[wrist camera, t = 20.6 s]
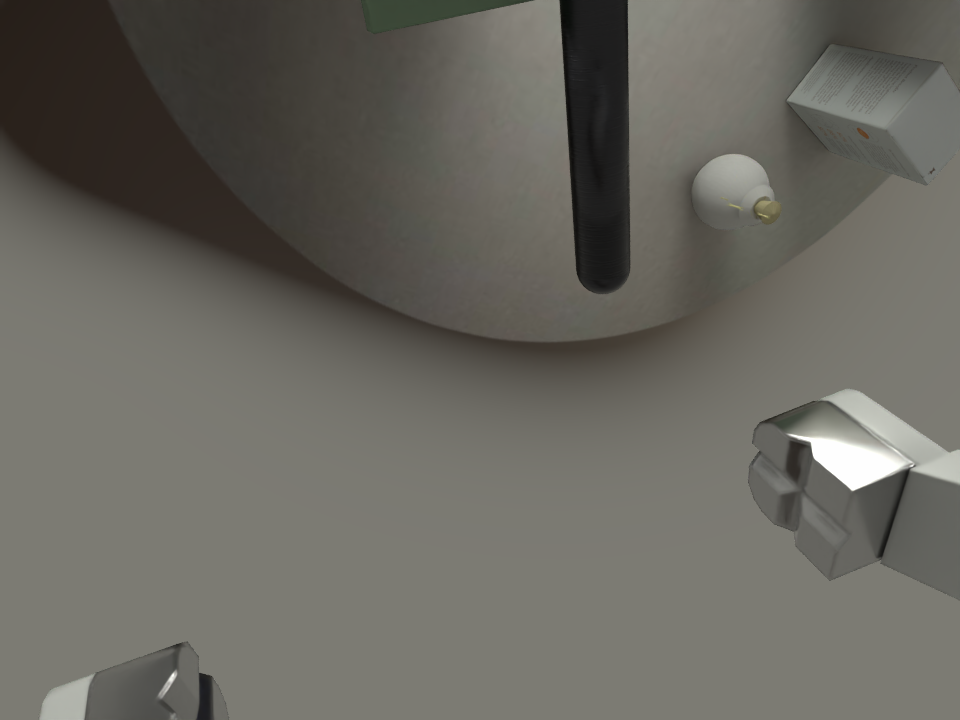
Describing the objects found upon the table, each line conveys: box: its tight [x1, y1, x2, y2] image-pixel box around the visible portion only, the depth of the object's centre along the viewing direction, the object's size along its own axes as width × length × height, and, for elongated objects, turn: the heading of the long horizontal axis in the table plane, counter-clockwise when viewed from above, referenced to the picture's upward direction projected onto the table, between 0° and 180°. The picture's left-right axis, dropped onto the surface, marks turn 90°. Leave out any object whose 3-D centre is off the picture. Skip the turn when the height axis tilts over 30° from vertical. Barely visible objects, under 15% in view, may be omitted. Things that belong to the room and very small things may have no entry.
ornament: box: [691, 154, 781, 230], centre depth 53 cm, size 6×7×10 cm
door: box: [361, 0, 630, 294], centre depth 21 cm, size 20×13×3 cm, turn 8°
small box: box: [787, 44, 960, 185], centre depth 53 cm, size 8×6×10 cm
